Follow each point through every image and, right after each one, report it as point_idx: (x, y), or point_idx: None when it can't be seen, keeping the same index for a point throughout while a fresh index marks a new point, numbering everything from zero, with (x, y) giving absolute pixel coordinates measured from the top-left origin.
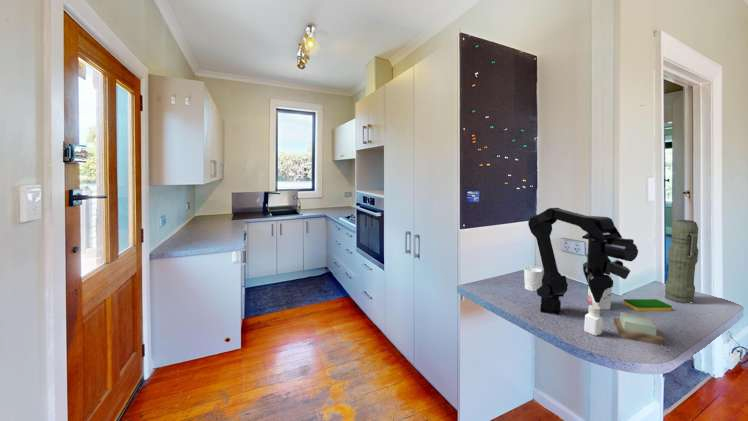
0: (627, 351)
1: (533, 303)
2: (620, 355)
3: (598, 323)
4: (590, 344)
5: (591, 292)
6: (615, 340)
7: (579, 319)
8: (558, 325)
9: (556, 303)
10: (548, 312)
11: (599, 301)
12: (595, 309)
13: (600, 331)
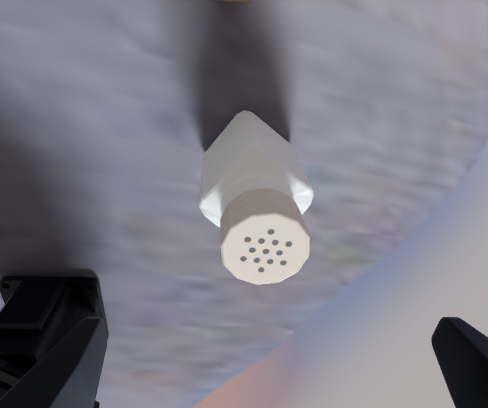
0: (431, 10)
1: None
2: (481, 65)
3: (294, 165)
4: (390, 181)
5: (104, 346)
6: (305, 45)
7: (89, 191)
8: (231, 282)
9: (55, 333)
10: (103, 316)
11: (475, 331)
12: (309, 244)
13: (264, 124)
